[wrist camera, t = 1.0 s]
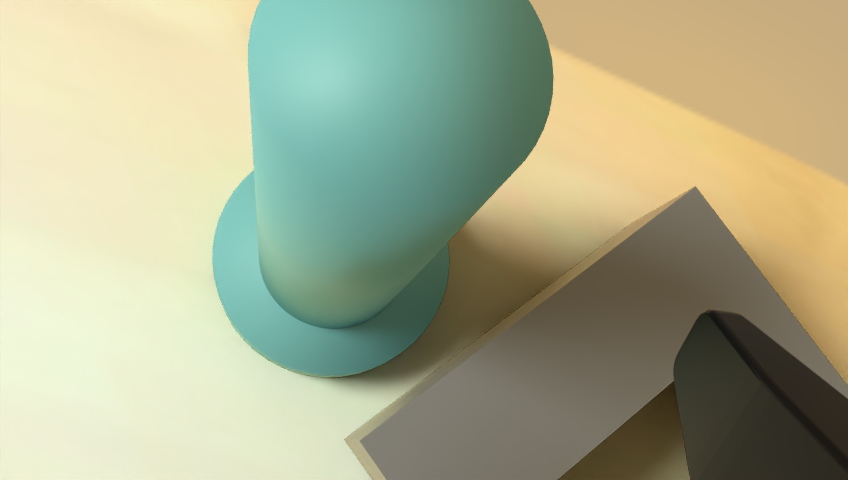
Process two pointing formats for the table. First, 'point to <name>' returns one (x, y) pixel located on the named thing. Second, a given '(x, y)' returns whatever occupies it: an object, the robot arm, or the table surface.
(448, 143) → the peg
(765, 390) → the robot arm
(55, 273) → the table surface
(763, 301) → the keyhole plate
